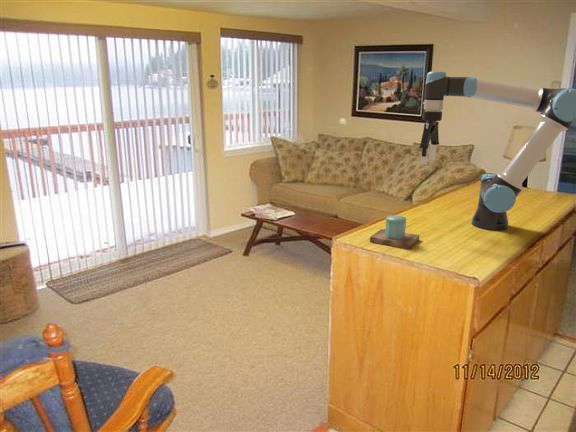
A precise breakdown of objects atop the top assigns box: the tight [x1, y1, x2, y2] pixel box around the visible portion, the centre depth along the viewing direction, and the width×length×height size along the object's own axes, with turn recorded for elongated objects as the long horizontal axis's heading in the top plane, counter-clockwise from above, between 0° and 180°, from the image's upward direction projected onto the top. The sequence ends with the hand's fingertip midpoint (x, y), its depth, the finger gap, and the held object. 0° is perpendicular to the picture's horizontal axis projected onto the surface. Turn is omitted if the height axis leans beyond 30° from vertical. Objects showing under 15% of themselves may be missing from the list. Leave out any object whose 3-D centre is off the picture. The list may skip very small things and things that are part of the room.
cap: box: [384, 214, 407, 239], centre depth 192 cm, size 8×8×8 cm
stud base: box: [369, 228, 420, 250], centre depth 192 cm, size 16×13×8 cm
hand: (427, 162), depth 204 cm, fingers open, 13 cm apart
